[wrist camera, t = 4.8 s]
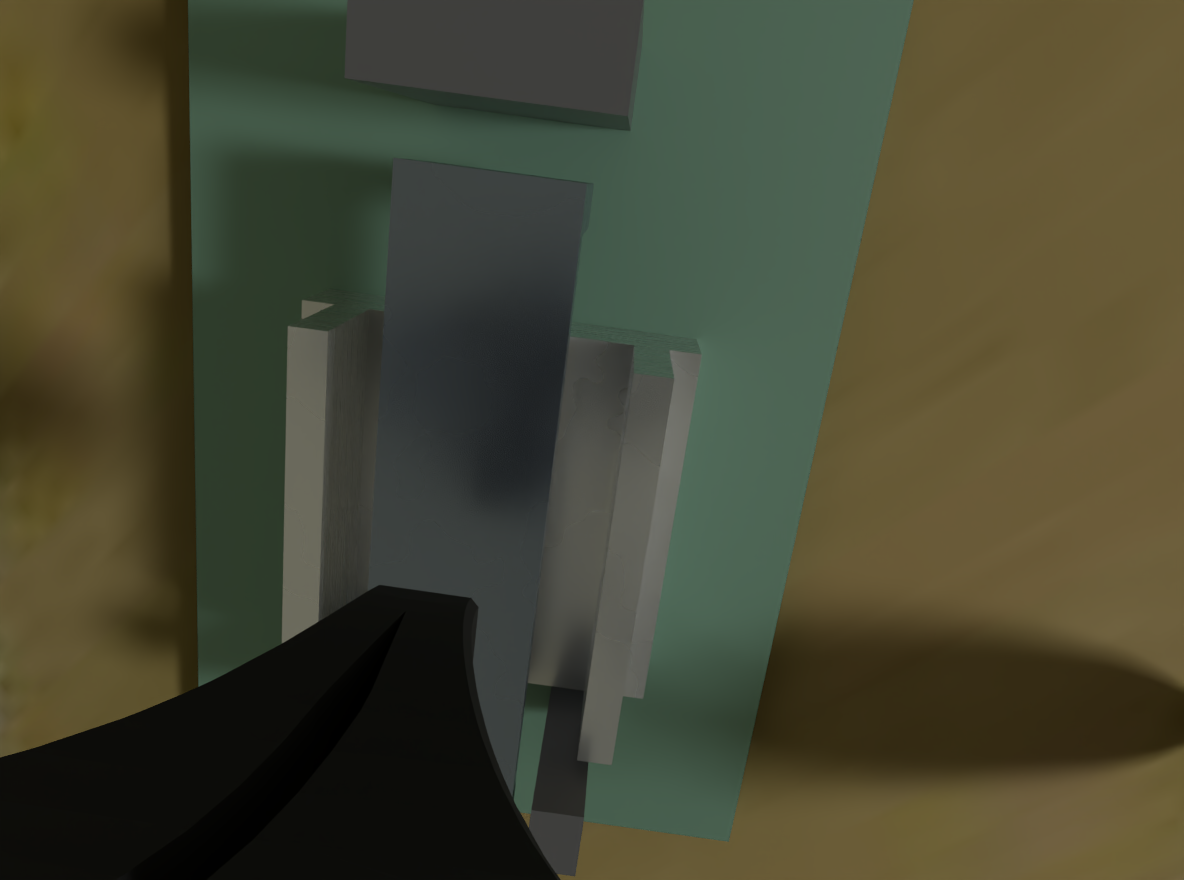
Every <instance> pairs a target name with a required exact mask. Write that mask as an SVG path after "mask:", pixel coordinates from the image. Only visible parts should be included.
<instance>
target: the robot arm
mask: <svg viewBox="0 0 1184 880" xmlns="http://www.w3.org/2000/svg"><path fill="white" fill-rule="evenodd" d="M478 608H479V607H478V606H477V605H476V603H475V602H474V601H473V599H472V598H469V597H462V596H455V595H448V594H441V593H434V592H427V591H420V590H413V589H406V588H399V587H392V586H385V585H378V586H376V587H374V588H372V589H371V590H369V591H367V592H365V593H364V594H362V595H361V596H359V597H357V598H356V599H354V600H352V601H351V602H349V603H348V604H346V605H345V606H343V607H341V608H340V609H338V610H337V611H335V612H333V613H332V614H330V615H329V616H327V617H325V618H324V619H322V620H320V621H319V622H317V623H315V624H314V625H312V626H310V627H309V628H307V629H305V630H304V631H302V632H300V633H299V634H297V635H295V636H294V637H292V638H290V639H289V640H287V641H285V642H284V643H282V644H280V645H278V646H276V647H275V648H273V649H271V650H269V651H267V652H265V653H263V654H261V655H260V656H258V657H256V658H254V659H252V660H250V661H248V662H246V663H244V664H243V665H241V666H239V667H237V668H235V669H233V670H231V671H229V672H228V673H226V674H224V675H222V676H220V677H218V678H216V679H214V680H212V681H210V682H208V683H206V684H203V685H201V686H199V687H197V688H195V689H193V690H190V691H188V692H186V693H184V694H182V695H179V696H177V697H174V698H172V699H170V700H167V701H165V702H162V703H160V704H158V705H155V706H153V707H150V708H148V709H146V710H143V711H141V712H138V713H136V714H133V715H130V716H128V717H125V718H123V719H120V720H117V721H114V722H111V723H108V724H105V725H102V726H99V727H96V728H93V729H90V730H87V731H84V732H81V733H78V734H75V735H72V736H69V737H66V738H63V739H60V740H57V741H54V742H51V743H48V744H45V745H42V746H39V747H36V748H33V749H29V750H26V751H22V752H19V753H15V754H12V755H8V756H4V757H1V758H0V880H560V878H559V877H558V876H557V874H556V873H555V871H554V870H553V868H552V867H551V865H550V864H549V862H548V861H547V859H546V858H545V856H544V855H543V853H542V851H541V849H540V847H539V846H538V844H537V842H536V840H535V838H534V837H533V835H532V833H531V831H530V829H529V828H528V826H527V824H526V822H525V820H524V819H523V817H522V815H521V813H520V811H519V810H518V808H517V806H516V804H515V802H514V800H513V797H512V795H511V793H510V791H509V788H508V786H507V784H506V782H505V779H504V777H503V775H502V772H501V770H500V767H499V764H498V762H497V759H496V757H495V754H494V751H493V748H492V745H491V742H490V739H489V736H488V733H487V729H486V726H485V722H484V718H483V714H482V710H481V706H480V702H479V697H478V693H477V688H476V681H475V674H474V667H473V657H474V647H475V638H476V628H477V618H478Z"/></svg>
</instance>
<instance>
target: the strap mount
mask: <svg viewBox="0 0 1184 880" xmlns="http://www.w3.org/2000/svg"><path fill="white" fill-rule="evenodd" d="M643 17H644V0H347V25H346V53H345V78H346V79H349V80H353V81H356V82H359V83H363V84H366V85H370V86H373V87H376V88H380V89H383V90H387V91H390V92H393V93H397V94H400V95H404V96H407V97H410V98H414V99H417V100H421V101H424V102H427V103H431V104H435V105H442V106H450V107H457V108H464V109H472V110H479V111H487V112H494V113H502V114H509V115H516V116H524V117H531V118H539V119H546V120H554V121H561V122H568V123H576V124H583V125H591V126H598V127H606V128H613V129H621V130H628V131H631V125H632V117H633V110H634V102H635V95H636V87H637V80H638V72H639V65H640V57H641V50H642V38H643ZM583 695H584V691H582V690H575V689H568V688H561V687H554V686H551V692H550V698H549V704H548V711H547V717H546V723H545V729H544V735H543V741H542V747H541V753H540V760H539V766H538V772H537V778H536V784H535V790H534V796H533V803H532V809H531V816H530V824H529V829H530V831H531V833H532V835H533V837H534V838H535V840H536V842H537V844H538V846H539V847H540V849H541V851H542V853H543V855H544V856H545V858H546V859H547V861H548V862H549V864H550V865H551V867H552V868H553V870H554V871H555V873H556V874H563V875H570V876H575V873H576V867H577V860H578V854H579V847H580V841H581V834H582V828H583V821H584V812H585V799H586V787H587V775H588V762H585V761H578V760H577V755H578V745H579V735H580V725H581V715H582V705H583Z"/></svg>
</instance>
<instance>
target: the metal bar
mask: <svg viewBox="0 0 1184 880" xmlns="http://www.w3.org/2000/svg"><path fill="white" fill-rule="evenodd" d="M593 187H594V183H587V182H580V181H572V180H565V179H557V178H550V177H543V176H535V175H528V174H520V173H513V172H506V171H498V170H491V169H483V168H476V167H468V166H461V165H454V164H446V163H439V162H431V161H422V160H412V159H402V158H393V172H392V189H391V206H390V223H389V240H388V257H387V274H386V291H385V308H384V325H383V342H382V359H381V376H380V393H379V410H378V427H377V445H376V462H375V479H374V496H373V513H372V530H371V547H370V564H369V581H368V591H369V590H371V589H372V588H374V587H376V586H378V585H385V586H392V587H399V588H406V589H413V590H420V591H427V592H434V593H441V594H448V595H455V596H462V597H469V598H472V599H473V601H474V602H475V603H476V605H477V606H478V607H479V608H478V618H477V628H476V638H475V647H474V657H473V667H474V674H475V681H476V688H477V693H478V697H479V702H480V706H481V710H482V714H483V718H484V722H485V726H486V729H487V733H488V736H489V739H490V742H491V745H492V748H493V751H494V754H495V757H496V759H497V762H498V764H499V767H500V770H501V772H502V775H503V777H504V779H505V782H506V784H507V786H508V788H509V791H510V793H511V795H512V797H513V800H514V796H515V788H516V774H517V766H518V758H519V750H520V741H521V733H522V725H523V717H524V709H525V701H526V693H527V684H528V676H529V668H530V660H531V652H532V644H533V636H534V627H535V619H536V611H537V603H538V595H539V587H540V579H541V570H542V562H543V554H544V546H545V538H546V530H547V521H548V513H549V505H550V497H551V489H552V481H553V473H554V464H555V456H556V448H557V440H558V432H559V424H560V416H561V407H562V399H563V391H564V383H565V375H566V367H567V358H568V350H569V342H570V334H571V326H572V318H573V310H574V301H575V293H576V285H577V277H578V269H579V261H580V253H581V244H582V236H583V234H584V233H585V232H586V231H587V230H588V227H589V219H590V211H591V203H592V195H593Z"/></svg>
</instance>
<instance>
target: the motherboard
mask: <svg viewBox="0 0 1184 880" xmlns="http://www.w3.org/2000/svg"><path fill="white" fill-rule="evenodd" d="M913 1H914V0H644V17H643V38H642V50H641V57H640V65H639V72H638V80H637V87H636V95H635V102H634V110H633V117H632V125H631V131H628V130H621V129H613V128H606V127H598V126H591V125H583V124H576V123H568V122H561V121H554V120H546V119H539V118H531V117H524V116H516V115H509V114H502V113H494V112H487V111H479V110H472V109H464V108H457V107H450V106H442V105H435V104H431V103H427V102H424V101H421V100H417V99H414V98H410V97H407V96H404V95H400V94H397V93H393V92H390V91H387V90H383V89H380V88H376V87H373V86H370V85H366V84H363V83H359V82H356V81H353V80H349V79H346V78H345V53H346V25H347V0H188V36H189V102H190V167H191V232H192V298H193V363H194V428H195V494H196V559H197V624H198V687H199V686H201V685H203V684H206V683H208V682H210V681H212V680H214V679H216V678H218V677H220V676H222V675H224V674H226V673H228V672H229V671H231V670H233V669H235V668H237V667H239V666H241V665H243V664H244V663H246V662H248V661H250V660H252V659H254V658H256V657H258V656H260V655H261V654H263V653H265V652H267V651H269V650H271V649H273V648H275V647H276V646H278V645H280V644H282V604H283V552H284V499H285V447H286V394H287V342H288V326H289V325H291V324H293V323H295V322H298V321H300V320H301V317H302V300H303V299H306V298H308V297H311V296H313V295H315V294H318V293H320V292H323V291H325V290H328V289H334V290H341V291H348V292H356V293H363V294H370V295H378V296H385V291H386V274H387V257H388V240H389V223H390V206H391V189H392V172H393V158H402V159H412V160H422V161H431V162H439V163H446V164H454V165H461V166H468V167H476V168H483V169H491V170H498V171H506V172H513V173H520V174H528V175H535V176H543V177H550V178H557V179H565V180H572V181H580V182H587V183H594V187H593V195H592V203H591V211H590V219H589V227H588V230H587V231H586V232H585V233H584V234H583V236H582V244H581V253H580V261H579V269H578V277H577V285H576V293H575V301H574V310H573V318H572V322H576V323H583V324H590V325H598V326H605V327H612V328H620V329H627V330H634V331H642V332H649V333H656V334H664V335H671V336H679V337H686V338H693V339H697V342H698V345H699V347H700V350H701V353H702V357H701V363H700V369H699V375H698V381H697V386H696V392H695V398H694V404H693V410H692V416H691V421H690V427H689V433H688V439H687V445H686V451H685V457H684V462H683V468H682V474H681V480H680V486H679V492H678V498H677V503H676V509H675V515H674V521H673V527H672V533H671V539H670V544H669V550H668V556H667V562H666V568H665V574H664V580H663V585H662V591H661V597H660V603H659V609H658V615H657V621H656V626H655V632H654V638H653V644H652V650H651V656H650V662H649V667H648V673H647V679H646V685H645V691H644V697H643V699H640V698H633V697H625V696H623V699H622V705H621V711H620V717H619V723H618V730H617V736H616V742H615V748H614V754H613V760H612V765H606V764H599V763H592V762H588V775H587V787H586V799H585V812H584V821H586V822H593V823H600V824H607V825H614V826H621V827H629V828H636V829H643V830H650V831H657V832H664V833H671V834H678V835H685V836H692V837H700V838H707V839H714V840H721V841H728V842H729V838H730V833H731V829H732V824H733V820H734V815H735V811H736V806H737V801H738V797H739V792H740V788H741V783H742V779H743V774H744V770H745V765H746V761H747V756H748V751H749V747H750V742H751V738H752V733H753V729H754V724H755V720H756V715H757V710H758V706H759V701H760V697H761V692H762V688H763V683H764V679H765V674H766V670H767V665H768V660H769V656H770V651H771V647H772V642H773V638H774V633H775V629H776V624H777V619H778V615H779V610H780V606H781V601H782V597H783V592H784V588H785V583H786V578H787V574H788V569H789V565H790V560H791V556H792V551H793V547H794V542H795V538H796V533H797V528H798V524H799V519H800V515H801V510H802V506H803V501H804V497H805V492H806V487H807V483H808V478H809V474H810V469H811V465H812V460H813V456H814V451H815V447H816V442H817V437H818V433H819V428H820V424H821V419H822V415H823V410H824V406H825V401H826V396H827V392H828V387H829V383H830V378H831V374H832V369H833V365H834V360H835V355H836V351H837V346H838V342H839V337H840V333H841V328H842V324H843V319H844V315H845V310H846V305H847V301H848V296H849V292H850V287H851V283H852V278H853V274H854V269H855V264H856V260H857V255H858V251H859V246H860V242H861V237H862V233H863V228H864V224H865V219H866V214H867V210H868V205H869V201H870V196H871V192H872V187H873V183H874V178H875V173H876V169H877V164H878V160H879V155H880V151H881V146H882V142H883V137H884V132H885V128H886V123H887V119H888V114H889V110H890V105H891V101H892V96H893V92H894V87H895V82H896V78H897V73H898V69H899V64H900V60H901V55H902V51H903V46H904V41H905V37H906V32H907V28H908V23H909V19H910V14H911V10H912V5H913ZM550 692H551V686H547V685H539V684H532V683H528V684H527V693H526V701H525V709H524V717H523V725H522V733H521V741H520V750H519V758H518V766H517V774H516V788H515V796H514V802H515V804H516V806H517V808H518V810H519V811H520V812H522V813H529V814H531V809H532V803H533V796H534V790H535V784H536V778H537V772H538V766H539V760H540V753H541V747H542V741H543V735H544V729H545V723H546V717H547V711H548V704H549V698H550Z"/></svg>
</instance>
